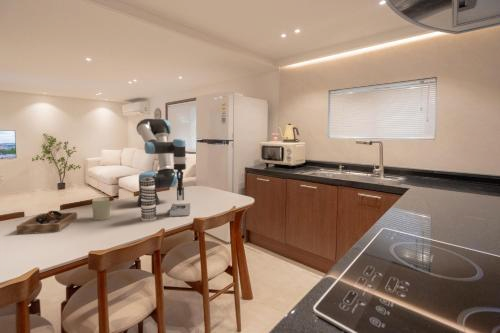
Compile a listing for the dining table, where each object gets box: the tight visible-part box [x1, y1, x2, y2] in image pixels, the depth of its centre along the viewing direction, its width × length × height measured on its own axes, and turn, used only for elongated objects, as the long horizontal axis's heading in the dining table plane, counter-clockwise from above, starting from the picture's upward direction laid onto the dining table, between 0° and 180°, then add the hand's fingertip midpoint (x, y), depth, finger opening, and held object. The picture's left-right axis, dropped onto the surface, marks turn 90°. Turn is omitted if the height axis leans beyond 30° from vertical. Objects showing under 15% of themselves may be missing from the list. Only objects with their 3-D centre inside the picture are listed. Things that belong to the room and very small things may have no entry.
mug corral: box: [16, 211, 78, 235], centre depth 145 cm, size 19×21×4 cm
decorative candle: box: [140, 177, 157, 222], centre depth 157 cm, size 9×9×25 cm
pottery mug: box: [36, 210, 63, 224], centre depth 146 cm, size 12×10×8 cm
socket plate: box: [169, 203, 191, 217], centre depth 172 cm, size 12×16×4 cm
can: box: [91, 196, 111, 221], centre depth 158 cm, size 9×9×12 cm
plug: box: [176, 185, 185, 201], centre depth 170 cm, size 4×4×8 cm
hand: (180, 199), depth 171 cm, fingers closed on plug, 4 cm apart
